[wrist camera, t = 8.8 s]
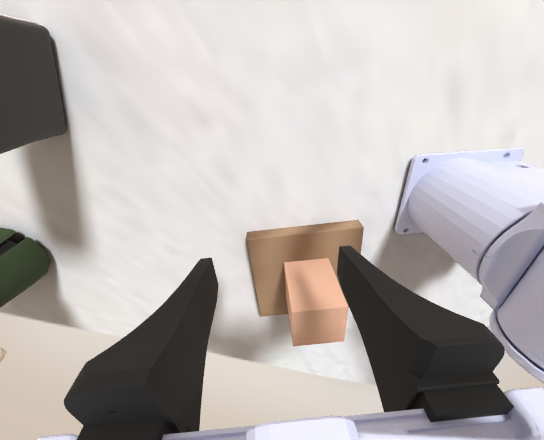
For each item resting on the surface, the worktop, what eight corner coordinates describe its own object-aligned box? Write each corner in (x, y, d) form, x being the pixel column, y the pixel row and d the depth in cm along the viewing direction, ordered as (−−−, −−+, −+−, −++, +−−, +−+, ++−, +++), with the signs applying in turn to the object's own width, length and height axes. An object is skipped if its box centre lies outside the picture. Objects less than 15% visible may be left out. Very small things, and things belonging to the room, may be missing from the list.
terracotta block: (328, 258, 24) (348, 306, 19) (326, 290, 26) (343, 341, 21) (283, 262, 24) (291, 312, 19) (285, 293, 26) (293, 346, 21)
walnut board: (356, 216, 24) (363, 227, 23) (348, 293, 30) (354, 306, 28) (247, 228, 24) (246, 240, 23) (260, 302, 30) (260, 316, 28)
